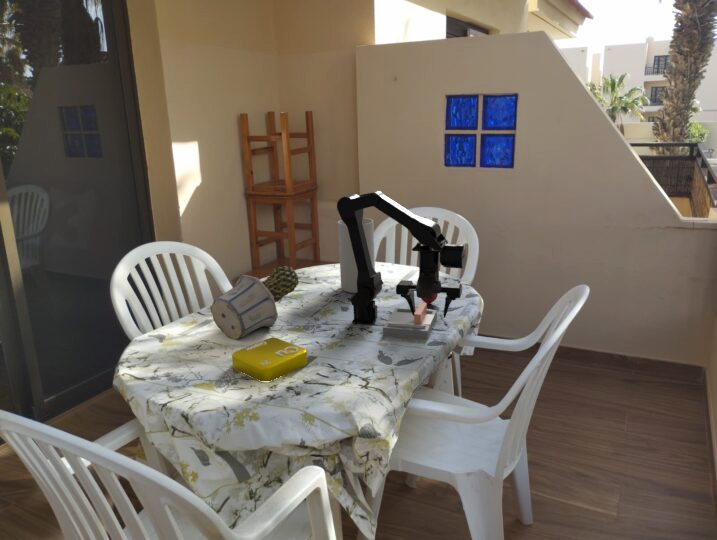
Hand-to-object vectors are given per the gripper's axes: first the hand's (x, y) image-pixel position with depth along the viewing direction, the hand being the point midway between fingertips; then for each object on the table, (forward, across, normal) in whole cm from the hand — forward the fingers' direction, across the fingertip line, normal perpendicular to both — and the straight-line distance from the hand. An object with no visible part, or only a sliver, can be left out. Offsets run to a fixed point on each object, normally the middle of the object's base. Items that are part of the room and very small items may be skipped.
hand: (429, 316), depth 170 cm
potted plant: (+4, -50, -8) cm, 51 cm away
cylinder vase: (+4, -32, +32) cm, 45 cm away
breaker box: (+4, -6, 0) cm, 7 cm away
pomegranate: (+4, -4, +20) cm, 21 cm away
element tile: (+4, -36, -33) cm, 50 cm away
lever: (+1, -3, 0) cm, 3 cm away
